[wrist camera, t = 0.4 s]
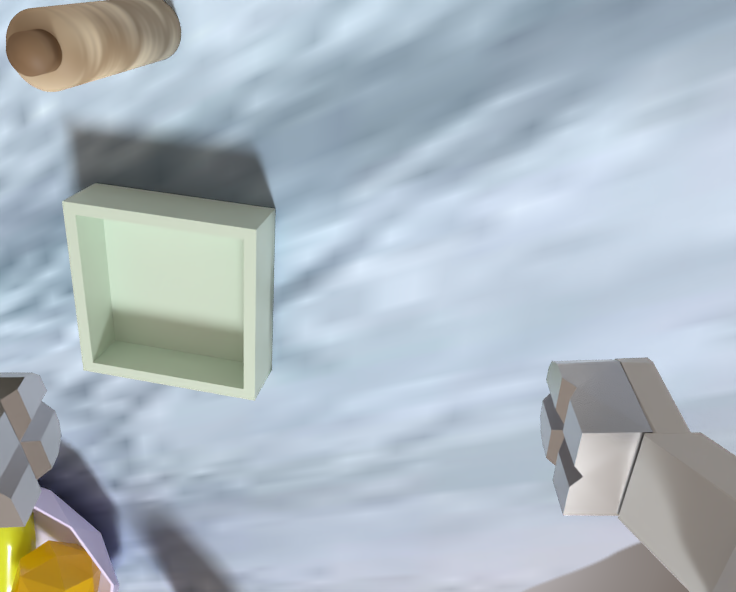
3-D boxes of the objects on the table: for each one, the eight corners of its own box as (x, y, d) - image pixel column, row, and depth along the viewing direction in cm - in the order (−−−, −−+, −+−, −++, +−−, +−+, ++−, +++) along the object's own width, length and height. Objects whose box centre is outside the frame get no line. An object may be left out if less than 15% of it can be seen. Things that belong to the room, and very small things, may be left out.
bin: (95, 183, 58) (62, 201, 54) (275, 208, 57) (256, 229, 52) (111, 342, 66) (83, 370, 61) (271, 370, 64) (254, 400, 59)
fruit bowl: (-45, 405, 73) (-131, 475, 63) (175, 530, 76) (125, 617, 66) (-96, 549, 86) (-174, 627, 76) (93, 652, 89) (42, 740, 79)
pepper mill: (121, -7, 51) (-19, 5, 37) (179, -1, 51) (59, 14, 37) (126, 57, 53) (-5, 91, 39) (182, 63, 53) (69, 101, 39)
